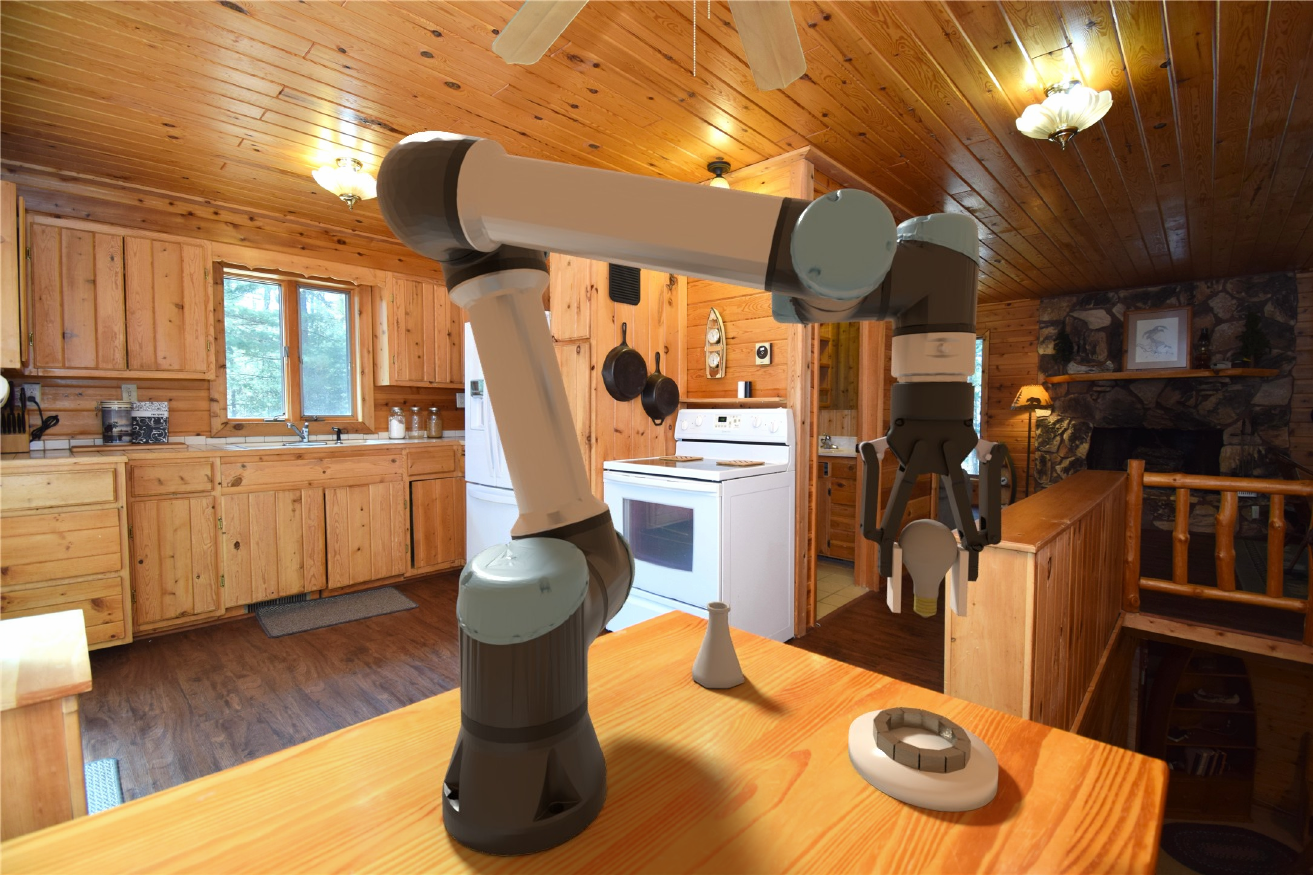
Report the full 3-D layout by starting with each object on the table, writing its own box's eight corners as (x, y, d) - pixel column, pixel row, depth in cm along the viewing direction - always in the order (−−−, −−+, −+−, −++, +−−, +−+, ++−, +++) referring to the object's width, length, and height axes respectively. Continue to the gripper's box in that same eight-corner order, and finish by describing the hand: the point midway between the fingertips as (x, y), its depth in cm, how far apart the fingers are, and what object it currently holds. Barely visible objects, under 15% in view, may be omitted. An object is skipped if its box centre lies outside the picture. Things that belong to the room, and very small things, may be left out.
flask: (683, 669, 82) (683, 599, 81) (730, 662, 84) (731, 593, 83) (702, 694, 75) (703, 617, 74) (754, 686, 77) (755, 611, 76)
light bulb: (962, 629, 56) (966, 526, 56) (902, 624, 57) (905, 524, 57) (946, 609, 62) (949, 515, 61) (891, 605, 63) (893, 513, 62)
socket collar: (883, 766, 57) (883, 751, 57) (867, 717, 66) (867, 703, 65) (982, 777, 55) (983, 761, 55) (952, 725, 64) (953, 711, 64)
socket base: (859, 800, 55) (860, 780, 55) (840, 720, 69) (840, 703, 69) (1022, 820, 52) (1023, 799, 52) (969, 732, 66) (969, 715, 66)
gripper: (839, 380, 56) (835, 617, 57) (1053, 378, 52) (1042, 630, 54) (830, 382, 63) (827, 592, 65) (1017, 380, 60) (1009, 602, 61)
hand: (925, 609), depth 59 cm, fingers closed on light bulb, 5 cm apart
